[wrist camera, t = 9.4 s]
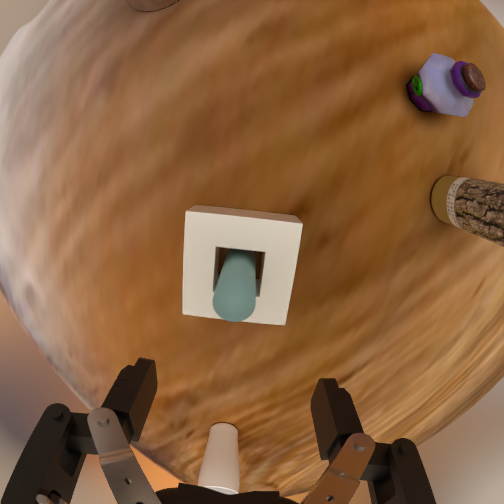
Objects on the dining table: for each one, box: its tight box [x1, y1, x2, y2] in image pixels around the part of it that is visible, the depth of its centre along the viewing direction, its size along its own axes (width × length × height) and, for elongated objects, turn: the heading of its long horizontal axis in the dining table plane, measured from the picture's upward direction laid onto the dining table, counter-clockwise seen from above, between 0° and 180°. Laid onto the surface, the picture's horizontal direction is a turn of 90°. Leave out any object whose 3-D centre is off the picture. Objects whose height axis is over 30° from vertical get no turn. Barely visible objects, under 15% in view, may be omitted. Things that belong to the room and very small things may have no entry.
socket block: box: [183, 205, 303, 325], centre depth 32 cm, size 12×12×5 cm
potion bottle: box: [406, 53, 485, 117], centre depth 21 cm, size 9×9×12 cm
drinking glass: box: [198, 423, 240, 495], centre depth 37 cm, size 7×7×15 cm
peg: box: [212, 248, 256, 322], centre depth 28 cm, size 4×4×12 cm
